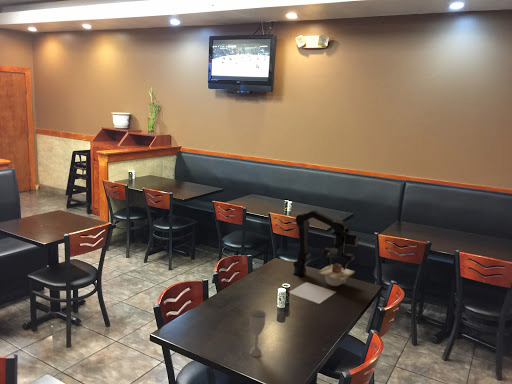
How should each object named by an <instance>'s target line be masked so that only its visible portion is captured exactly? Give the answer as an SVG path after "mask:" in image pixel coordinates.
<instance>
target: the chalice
mask: <svg viewBox="0 0 512 384" xmlns="http://www.w3.org/2000/svg"><path fill="white" fill-rule="evenodd" d="M248 314H249V316H250V317H249V326H250V329H251V332H252V334H253V335H255V337H254V342H253V344H254V346H253V347H251V349H250V351H249V355H250V356H253V357H260V356H261V355H262V354H261V353H262V351H261V348H260V346H258V345H259V341H258V340H259V336H260V335H261V333H262V332H263V330H264V328H265V325H266V324H265V323H266V317H267V315H268V314H267V312H266V311H264V310H261V309H255V310H251V311H249V313H248Z"/></svg>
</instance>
